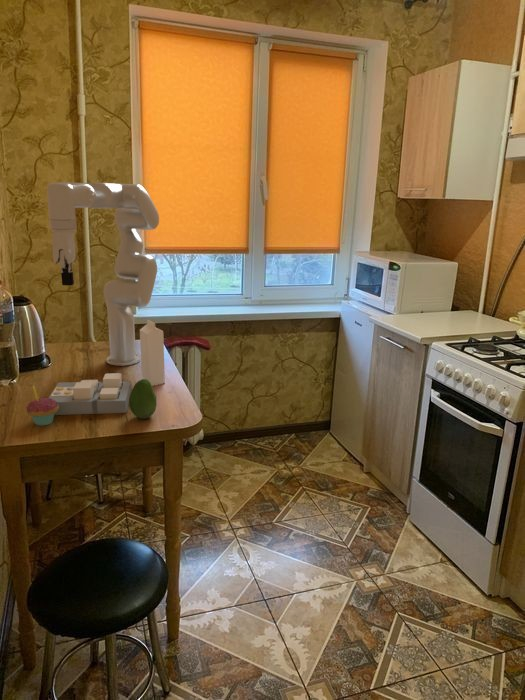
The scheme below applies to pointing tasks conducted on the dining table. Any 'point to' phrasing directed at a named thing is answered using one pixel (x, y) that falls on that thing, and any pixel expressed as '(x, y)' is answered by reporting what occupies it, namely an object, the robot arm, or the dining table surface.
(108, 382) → the button
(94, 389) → the button
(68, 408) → the board
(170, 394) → the dining table surface
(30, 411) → the cupcake
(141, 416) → the avocado
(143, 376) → the milk
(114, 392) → the button
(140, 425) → the dining table surface
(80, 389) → the button
